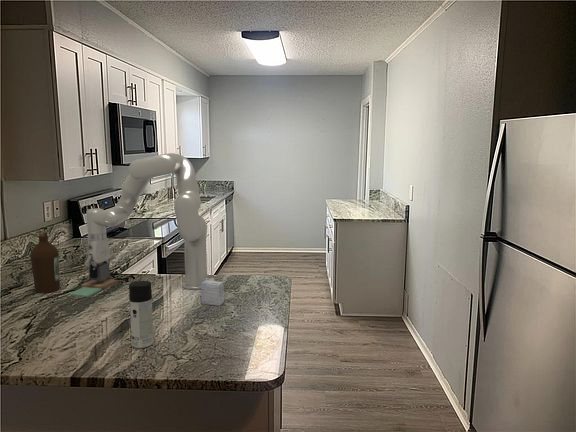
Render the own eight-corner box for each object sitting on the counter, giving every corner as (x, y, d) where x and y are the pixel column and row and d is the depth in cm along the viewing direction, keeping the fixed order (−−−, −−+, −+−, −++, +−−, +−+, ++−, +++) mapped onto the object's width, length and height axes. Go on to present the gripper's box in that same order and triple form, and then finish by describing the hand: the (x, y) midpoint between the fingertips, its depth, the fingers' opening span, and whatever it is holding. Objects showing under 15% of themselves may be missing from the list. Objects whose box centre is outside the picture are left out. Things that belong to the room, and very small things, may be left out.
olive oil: (31, 295, 181) (25, 236, 177) (36, 287, 191) (31, 231, 187) (59, 292, 185) (55, 234, 181) (63, 284, 195) (58, 229, 191)
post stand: (118, 282, 199) (117, 265, 198) (104, 289, 189) (103, 271, 188) (96, 280, 202) (94, 263, 200) (81, 286, 192) (79, 269, 191)
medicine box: (224, 302, 174) (223, 281, 173) (218, 306, 170) (218, 285, 169) (206, 300, 177) (206, 279, 176) (201, 304, 173) (200, 283, 171)
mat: (101, 290, 188) (101, 288, 188) (87, 297, 179) (87, 295, 179) (83, 288, 190) (83, 287, 190) (68, 295, 182) (68, 293, 181)
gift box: (110, 276, 197) (109, 261, 196) (101, 280, 192) (100, 265, 190) (98, 275, 199) (97, 260, 198) (89, 279, 193) (88, 264, 192)
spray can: (134, 339, 141) (131, 280, 138) (156, 339, 141) (153, 279, 138) (128, 349, 134) (125, 286, 131) (151, 348, 135) (148, 286, 132)
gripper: (91, 241, 183) (94, 281, 186) (116, 233, 200) (118, 270, 202) (76, 240, 185) (79, 280, 187) (102, 232, 201) (104, 269, 204)
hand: (99, 275), depth 195 cm, fingers open, 7 cm apart
